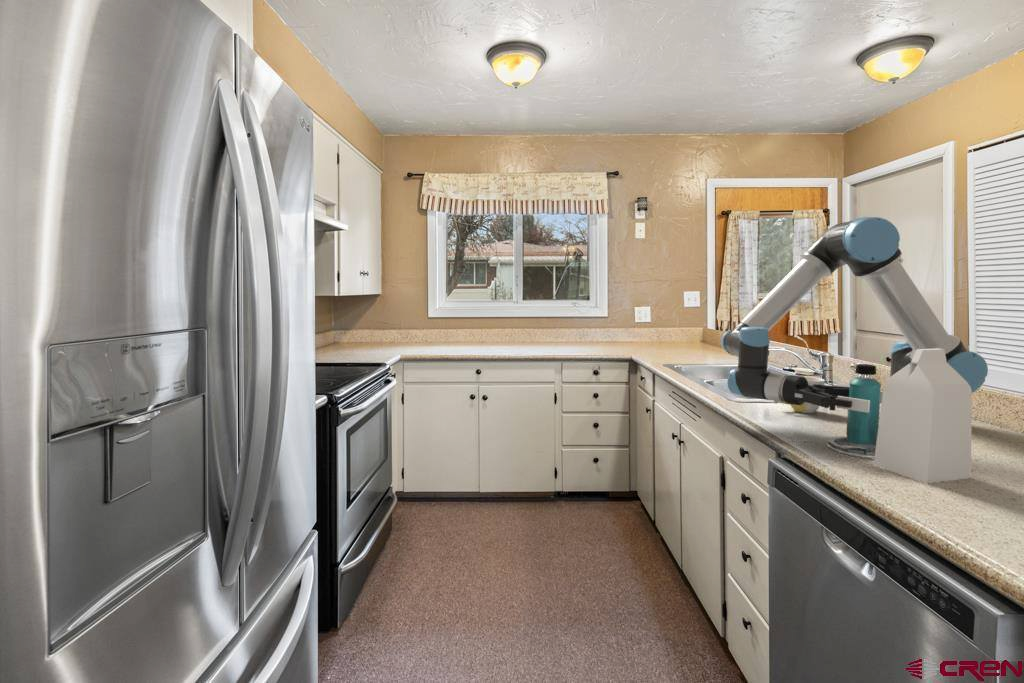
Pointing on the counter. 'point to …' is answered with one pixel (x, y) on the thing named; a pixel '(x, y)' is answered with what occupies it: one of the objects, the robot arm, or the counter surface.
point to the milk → (926, 421)
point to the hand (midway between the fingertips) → (880, 402)
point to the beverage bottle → (861, 423)
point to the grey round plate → (851, 447)
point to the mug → (806, 406)
